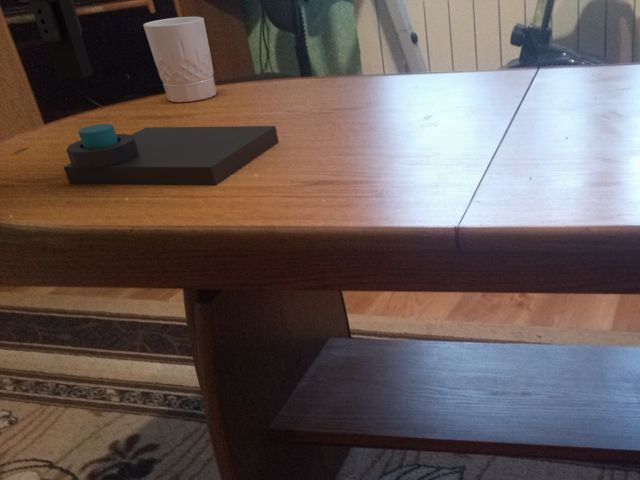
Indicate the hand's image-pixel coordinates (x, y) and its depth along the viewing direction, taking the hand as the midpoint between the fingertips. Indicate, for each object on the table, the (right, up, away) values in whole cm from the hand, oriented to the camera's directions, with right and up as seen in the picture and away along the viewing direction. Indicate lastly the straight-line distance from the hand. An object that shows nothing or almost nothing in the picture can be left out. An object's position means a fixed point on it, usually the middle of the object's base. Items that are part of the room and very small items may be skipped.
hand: (75, 76), depth 69 cm
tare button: (+1, -6, +3) cm, 7 cm away
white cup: (-2, +10, +36) cm, 37 cm away
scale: (+7, -6, +8) cm, 12 cm away
